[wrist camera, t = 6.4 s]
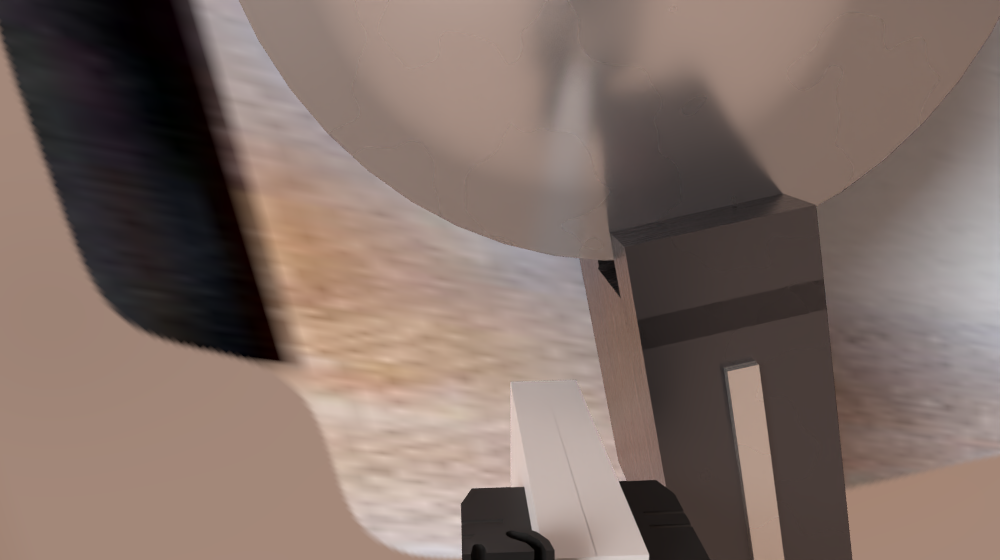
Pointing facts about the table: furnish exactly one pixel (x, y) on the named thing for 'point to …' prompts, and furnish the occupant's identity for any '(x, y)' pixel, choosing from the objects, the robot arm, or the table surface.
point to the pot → (607, 363)
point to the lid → (656, 195)
